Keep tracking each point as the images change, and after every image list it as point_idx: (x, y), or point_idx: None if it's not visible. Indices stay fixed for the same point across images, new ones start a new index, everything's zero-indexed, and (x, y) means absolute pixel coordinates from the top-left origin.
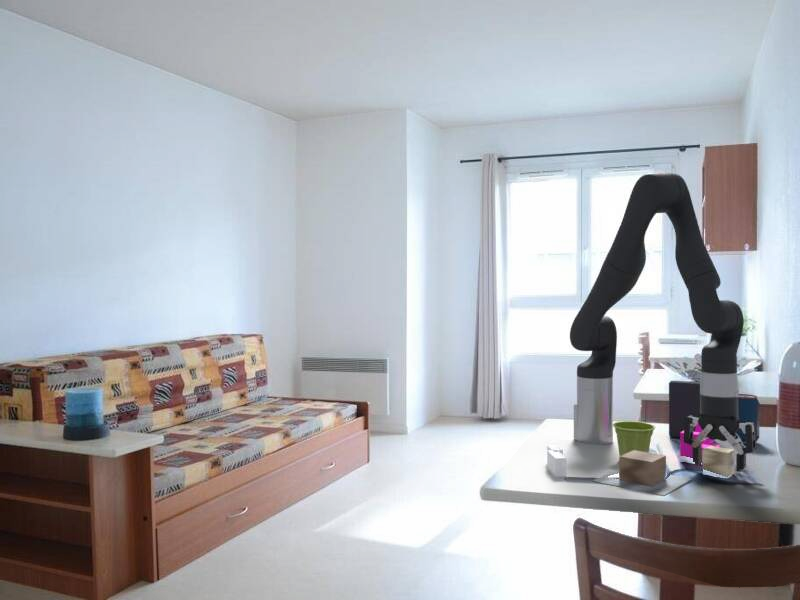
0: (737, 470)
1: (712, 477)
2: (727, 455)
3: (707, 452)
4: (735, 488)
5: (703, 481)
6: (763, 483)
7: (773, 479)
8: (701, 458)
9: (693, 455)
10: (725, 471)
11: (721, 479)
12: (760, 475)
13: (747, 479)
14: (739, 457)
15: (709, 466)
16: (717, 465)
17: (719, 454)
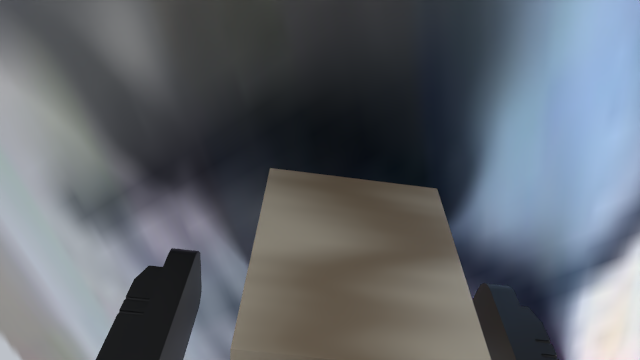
0: (188, 252)
1: None
2: (233, 341)
3: (438, 353)
4: (160, 26)
5: (421, 92)
6: (79, 237)
7: (80, 320)
8: None
9: (547, 349)
10: (269, 216)
11: None
12: None
13: None
14: (132, 345)
15: (398, 244)
16: (333, 252)
17: (312, 338)
